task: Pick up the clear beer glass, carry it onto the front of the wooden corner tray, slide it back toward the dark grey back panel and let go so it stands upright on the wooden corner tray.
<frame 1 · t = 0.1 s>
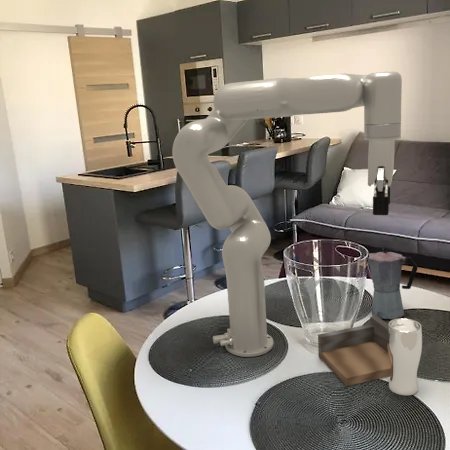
hand: (381, 209, 114), 37 cm above the table, tool pointing down, fingers open, 9 cm apart
moka pot: (389, 314, 146), on the table
wooden corner tray: (362, 363, 122), on the table
beer glass: (403, 388, 111), on the table
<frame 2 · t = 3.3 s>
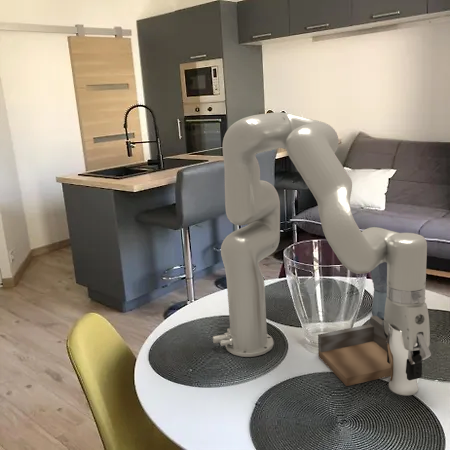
hand: (403, 369, 110), 4 cm above the table, tool pointing down, fingers closed on beer glass, 6 cm apart
beer glass: (403, 388, 111), on the table, touching gripper
everything else where it was.
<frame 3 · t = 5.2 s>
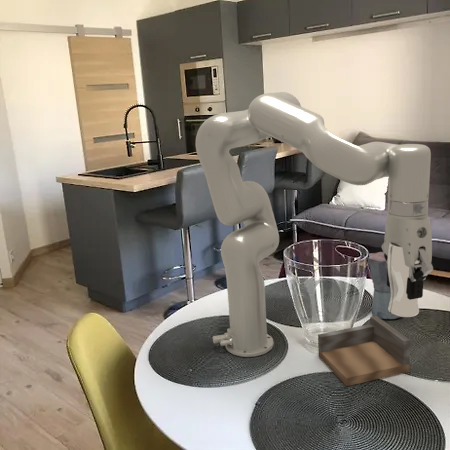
hand: (404, 290, 106), 23 cm above the table, tool pointing down, fingers closed on beer glass, 6 cm apart
beer glass: (403, 311, 107), point 18 cm above the table, touching gripper
everything else where it was.
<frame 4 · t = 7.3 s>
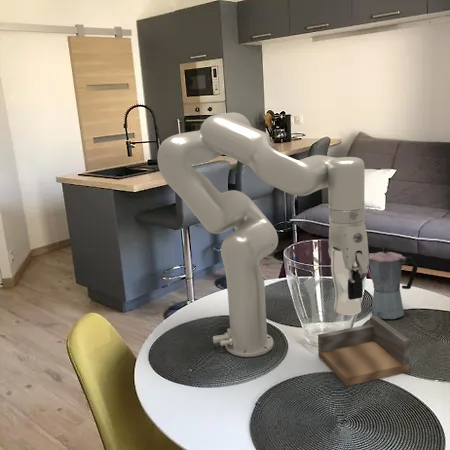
hand: (347, 291, 114), 20 cm above the table, tool pointing down, fingers closed on beer glass, 6 cm apart
beer glass: (347, 310, 116), point 15 cm above the table, touching gripper
everything else where it was.
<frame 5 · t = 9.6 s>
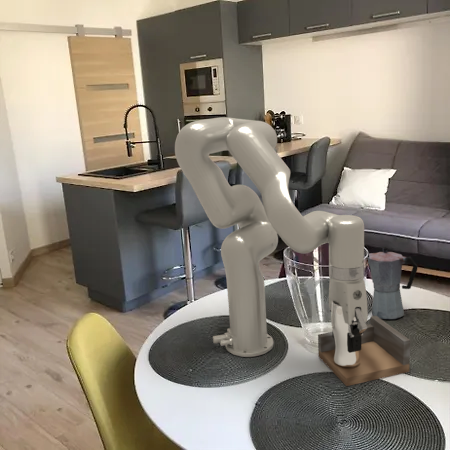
hand: (346, 343, 118), 7 cm above the table, tool pointing down, fingers closed on beer glass, 6 cm apart
beer glass: (346, 361, 119), point 2 cm above the table, touching gripper
everything else where it was.
when the fingers open (7 cm above the table, at t = 11.5 s): beer glass stays where it is, resting on wooden corner tray.
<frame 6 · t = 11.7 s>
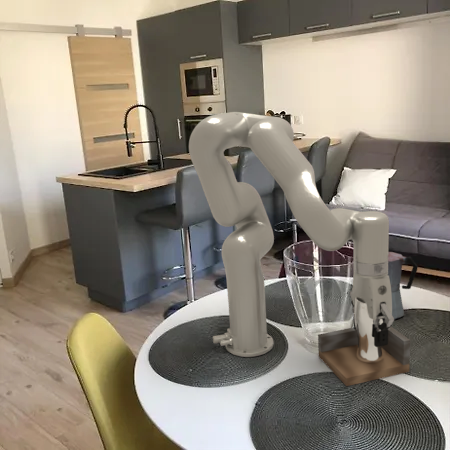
hand: (370, 336, 119), 7 cm above the table, tool pointing down, fingers open, 8 cm apart
beer glass: (369, 357, 121), point 2 cm above the table, touching wooden corner tray
everything else where it was.
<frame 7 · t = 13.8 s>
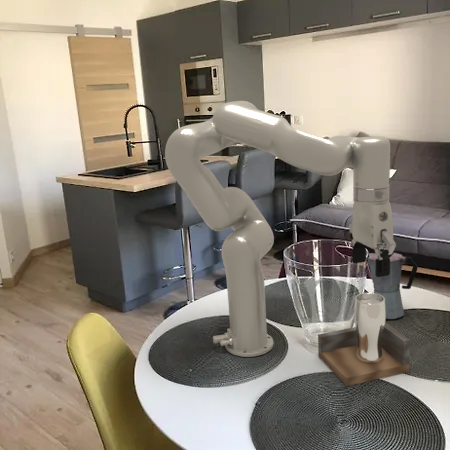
hand: (370, 268, 115), 24 cm above the table, tool pointing down, fingers open, 9 cm apart
nothing on the table moved.
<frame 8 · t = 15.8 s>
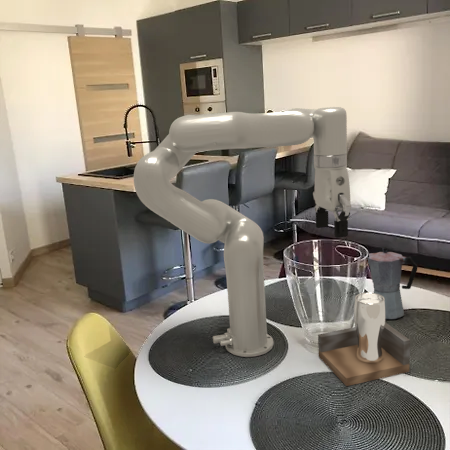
hand: (331, 231, 124), 30 cm above the table, tool pointing down, fingers open, 9 cm apart
nothing on the table moved.
at the end: beer glass inside the target area on the wooden corner tray (1.4 cm from its centre), point 1.8 cm above the wooden corner tray's base; beer glass tilted 0°; the gripper is holding nothing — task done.
